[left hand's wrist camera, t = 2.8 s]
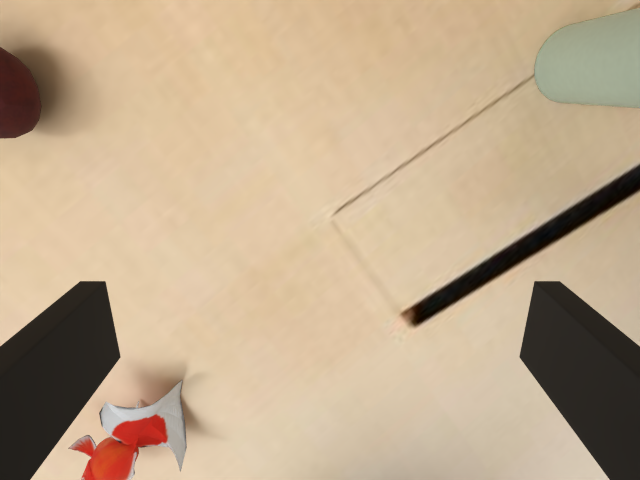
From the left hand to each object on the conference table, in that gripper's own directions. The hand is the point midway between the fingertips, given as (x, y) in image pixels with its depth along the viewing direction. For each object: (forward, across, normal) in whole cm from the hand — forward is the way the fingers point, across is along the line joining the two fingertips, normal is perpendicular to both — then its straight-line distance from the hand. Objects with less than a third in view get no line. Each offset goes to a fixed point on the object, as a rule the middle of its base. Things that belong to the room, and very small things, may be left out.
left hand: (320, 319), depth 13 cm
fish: (+28, +21, +29) cm, 45 cm away
